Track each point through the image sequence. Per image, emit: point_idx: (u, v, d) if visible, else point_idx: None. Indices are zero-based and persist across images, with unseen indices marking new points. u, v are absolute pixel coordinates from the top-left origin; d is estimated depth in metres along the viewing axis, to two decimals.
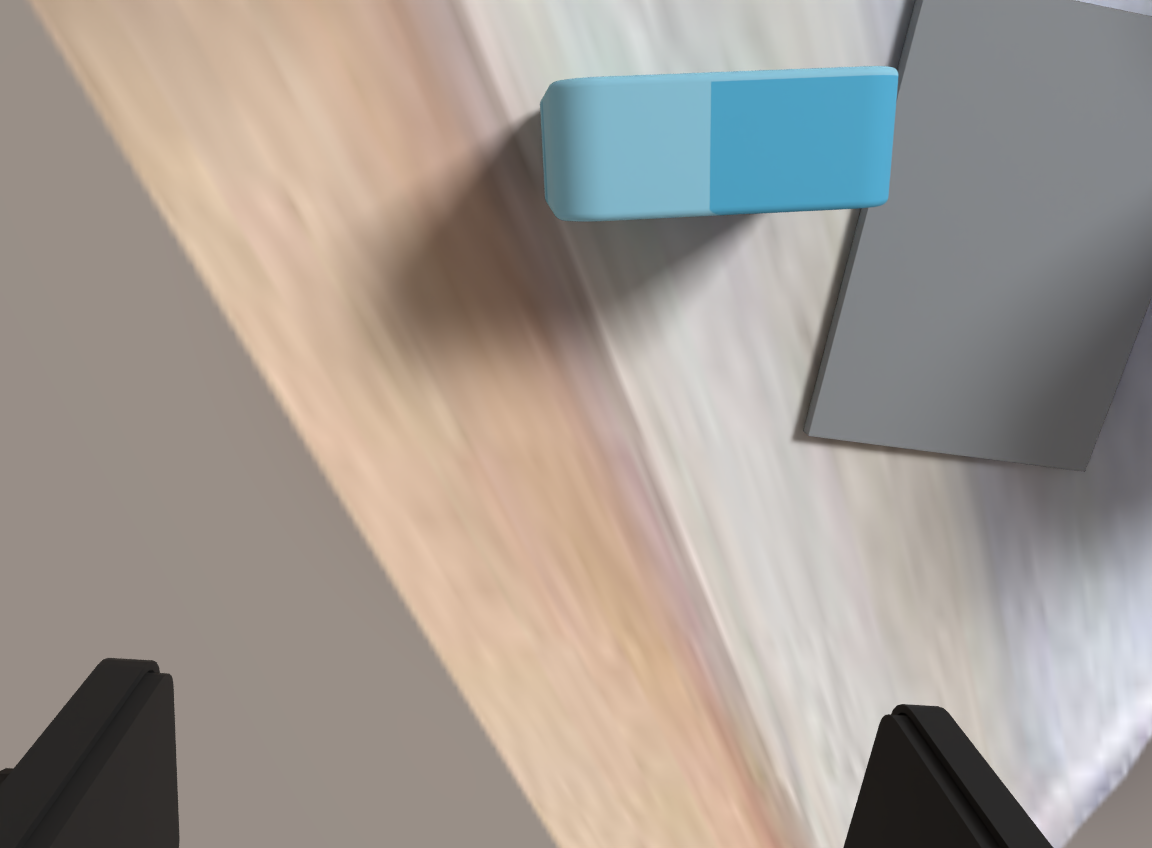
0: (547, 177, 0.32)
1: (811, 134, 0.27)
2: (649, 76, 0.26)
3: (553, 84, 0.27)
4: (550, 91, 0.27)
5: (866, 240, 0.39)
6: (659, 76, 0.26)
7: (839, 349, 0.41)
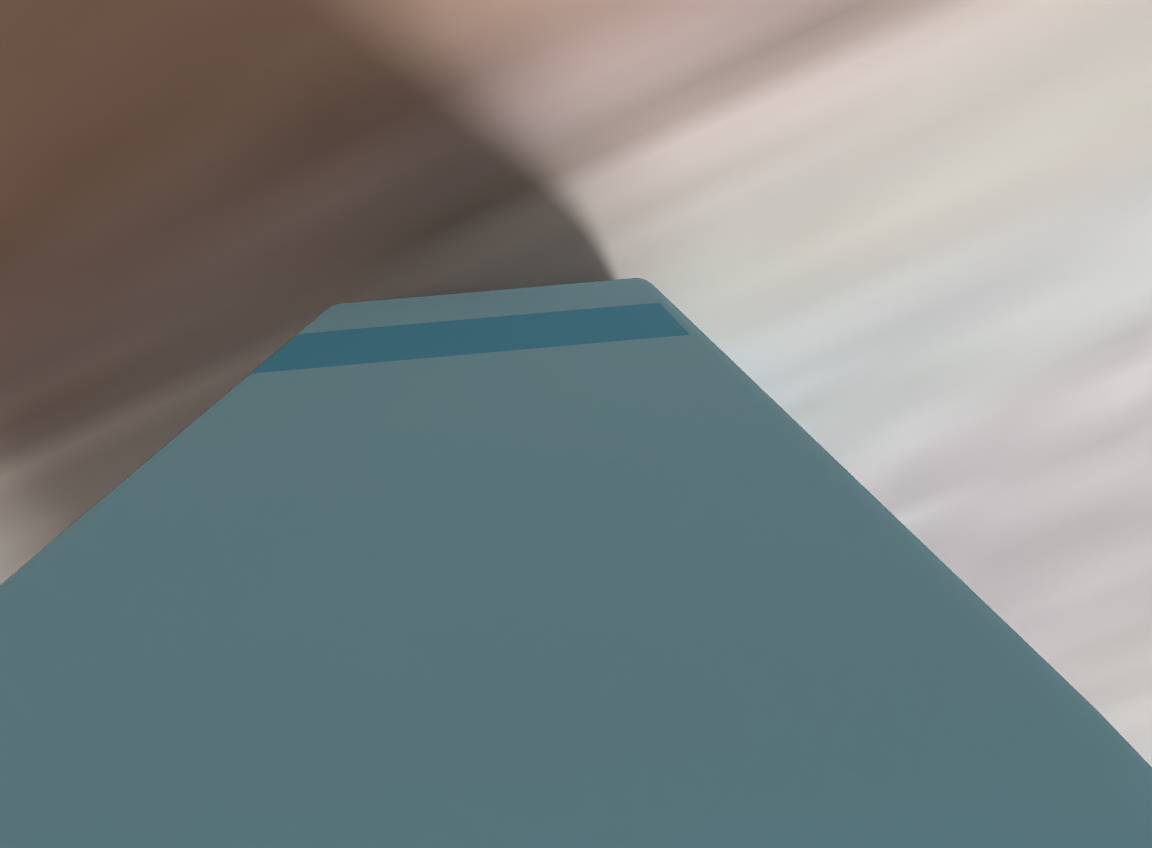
0: (354, 392, 0.06)
1: None
2: None
3: None
4: (1137, 832, 0.02)
5: None
6: None
7: None
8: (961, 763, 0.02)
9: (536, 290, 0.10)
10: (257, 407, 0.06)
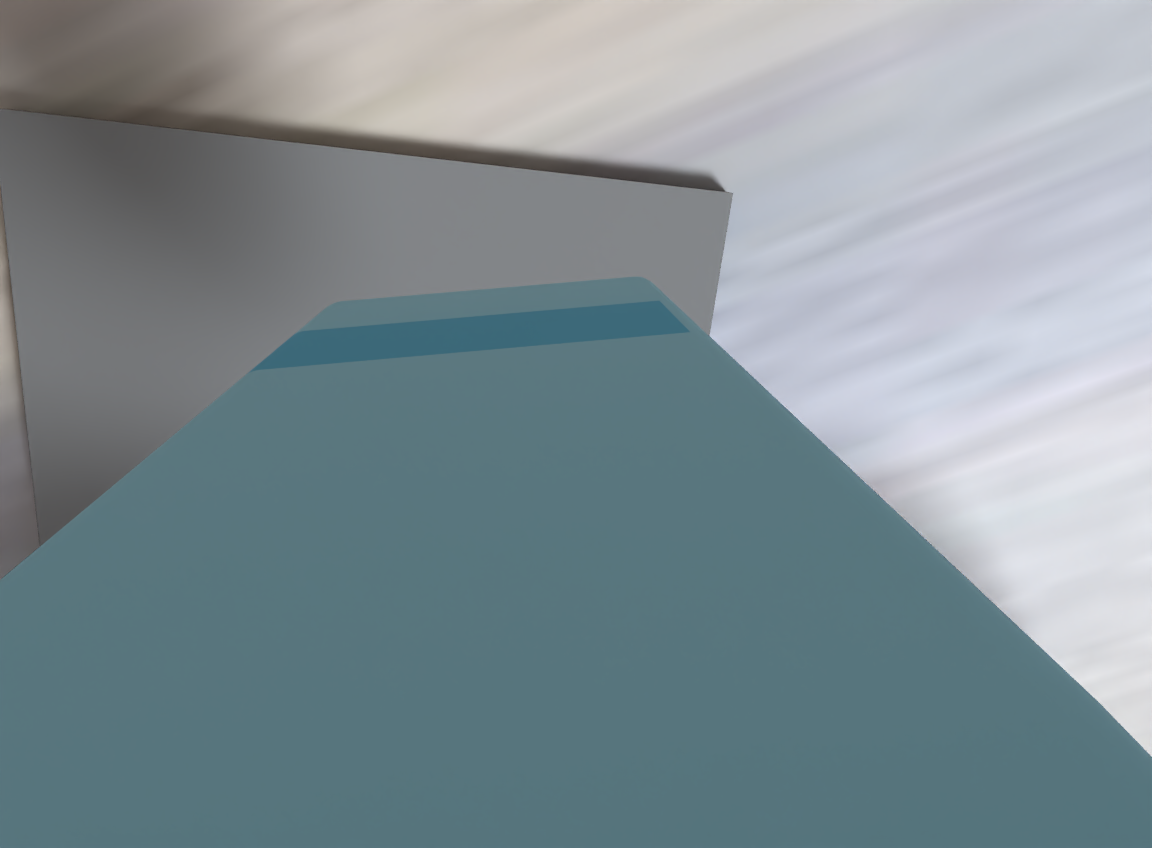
0: (353, 389, 0.06)
1: None
2: None
3: None
4: (1139, 823, 0.02)
5: (354, 160, 0.24)
6: None
7: (165, 143, 0.24)
8: (962, 754, 0.02)
9: (536, 288, 0.10)
10: (257, 404, 0.06)
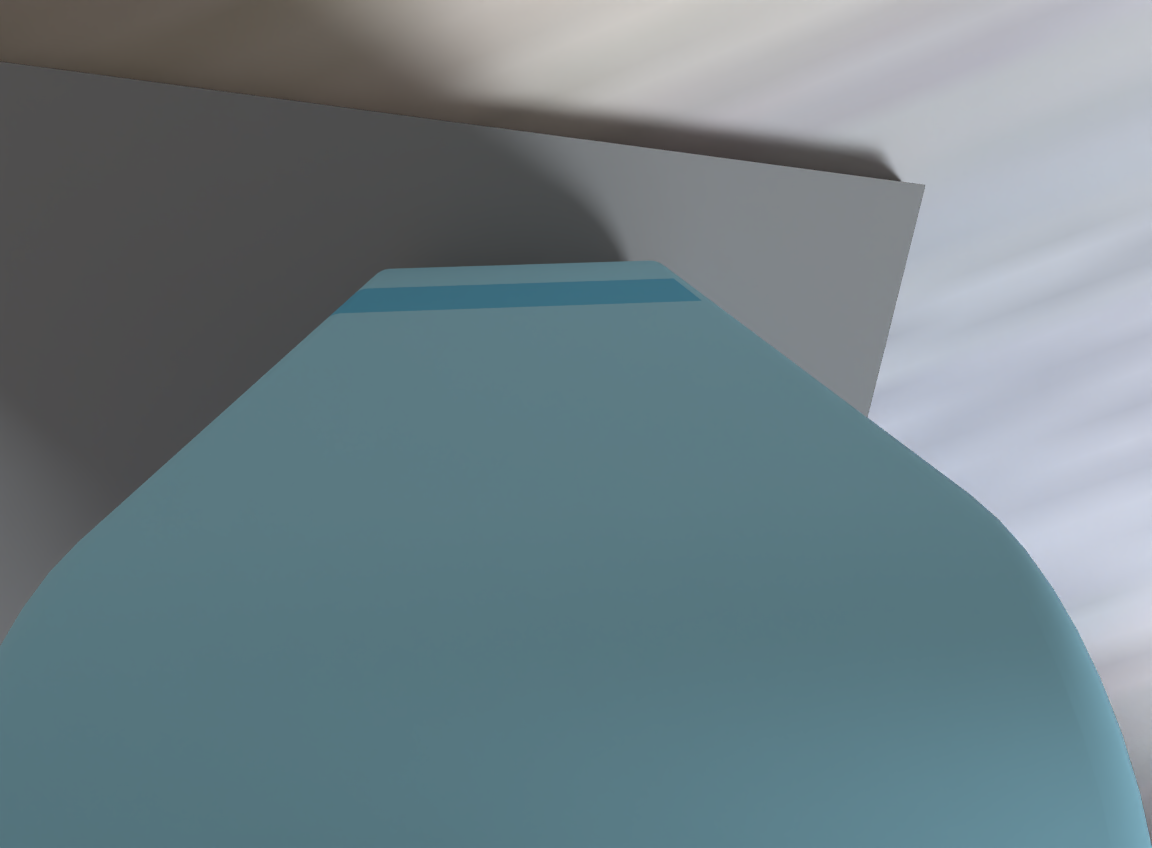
0: (428, 328, 0.08)
1: None
2: None
3: (1037, 571, 0.03)
4: (983, 541, 0.04)
5: (211, 111, 0.13)
6: None
7: None
8: (885, 511, 0.04)
9: (563, 266, 0.12)
10: (351, 335, 0.08)
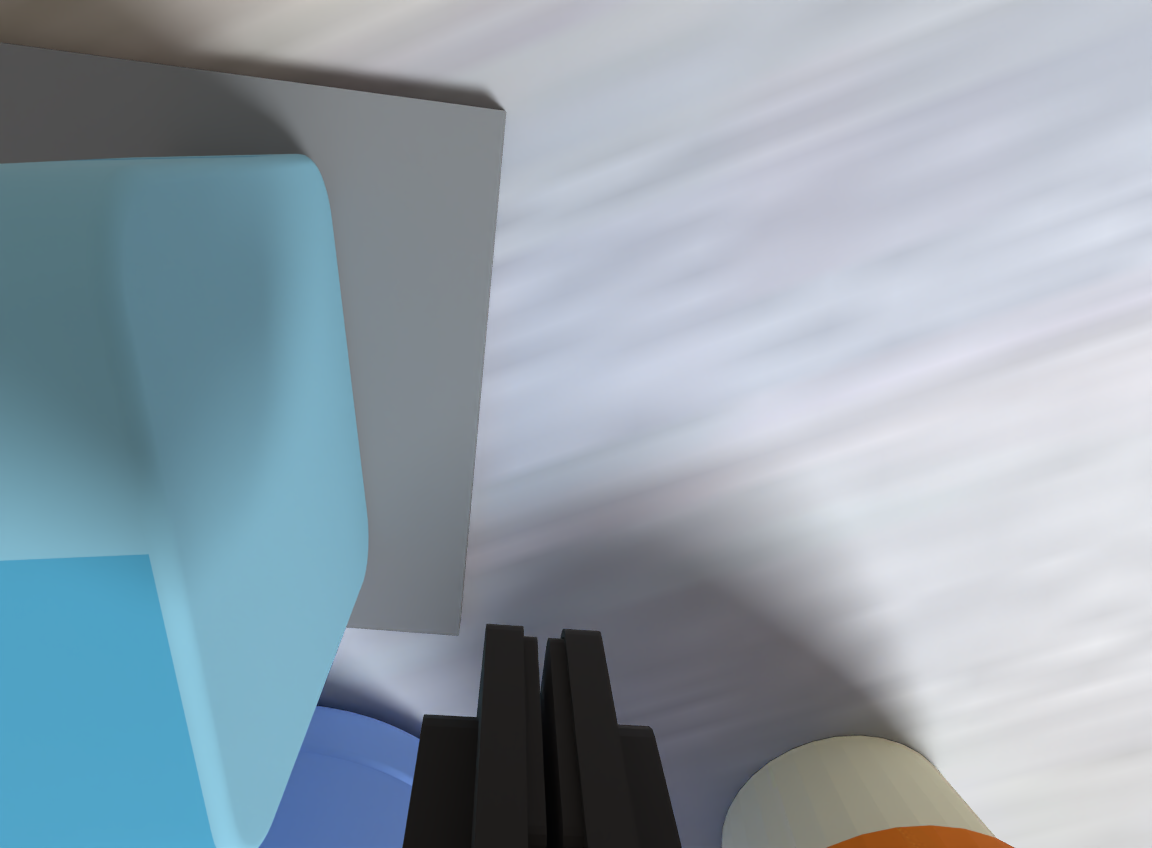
0: (77, 161, 0.15)
1: (75, 753, 0.12)
2: (140, 419, 0.11)
3: (125, 179, 0.11)
4: (111, 171, 0.11)
5: (28, 60, 0.20)
6: (143, 441, 0.11)
7: None
8: (93, 167, 0.11)
9: None
10: (32, 162, 0.15)
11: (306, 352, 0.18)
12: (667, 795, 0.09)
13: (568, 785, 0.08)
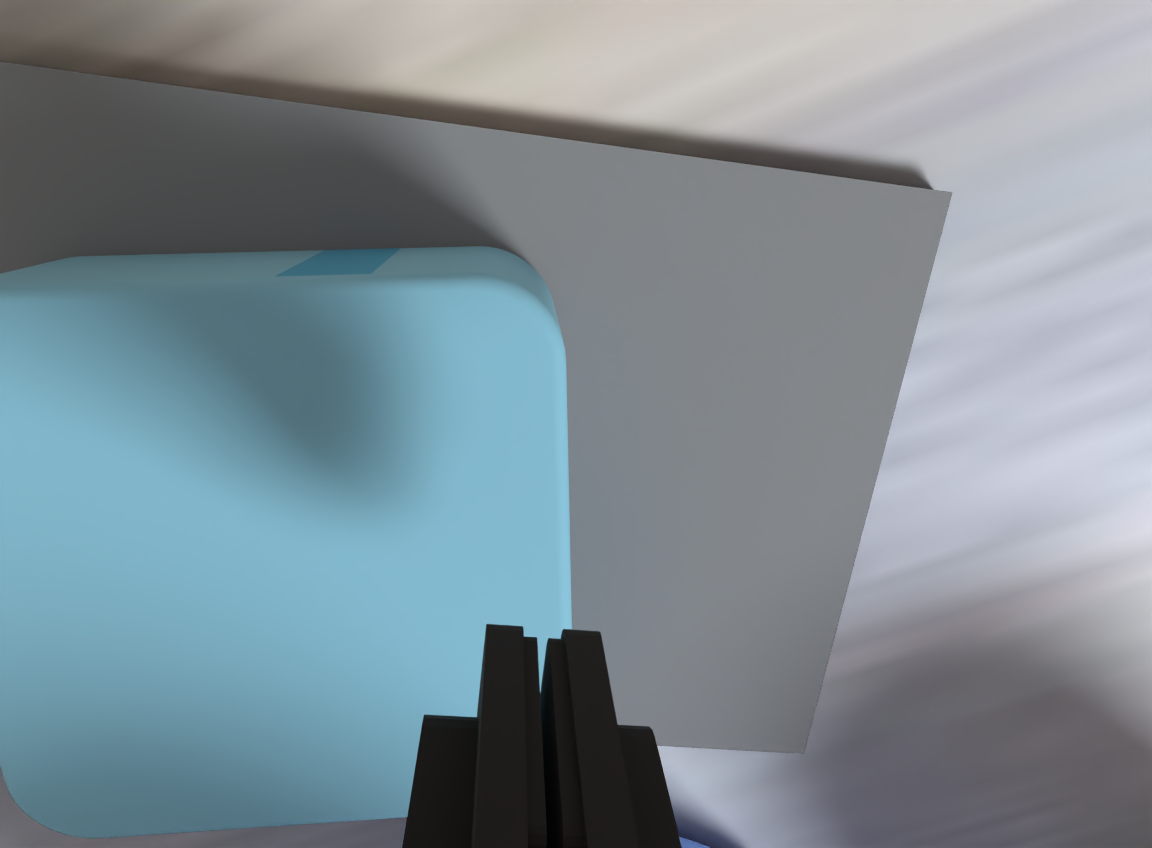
0: (266, 257, 0.17)
1: None
2: None
3: None
4: None
5: (440, 138, 0.17)
6: None
7: (177, 107, 0.17)
8: None
9: (463, 261, 0.15)
10: (268, 253, 0.17)
11: (348, 505, 0.15)
12: (667, 795, 0.09)
13: (568, 785, 0.08)
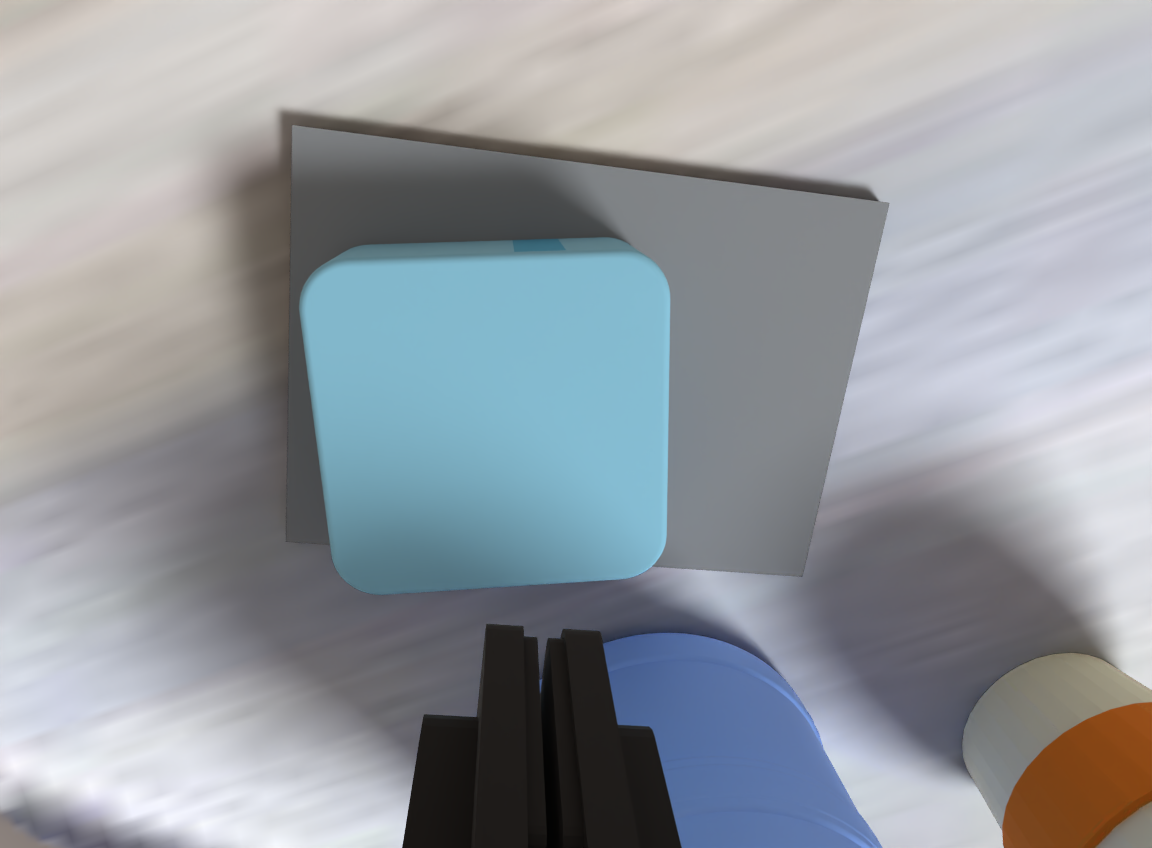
0: (485, 243, 0.28)
1: None
2: (307, 360, 0.26)
3: (329, 264, 0.25)
4: (333, 259, 0.25)
5: (583, 172, 0.29)
6: (308, 370, 0.26)
7: (430, 155, 0.28)
8: (343, 256, 0.26)
9: (608, 244, 0.27)
10: (481, 241, 0.29)
11: (546, 382, 0.27)
12: (667, 795, 0.09)
13: (568, 785, 0.08)
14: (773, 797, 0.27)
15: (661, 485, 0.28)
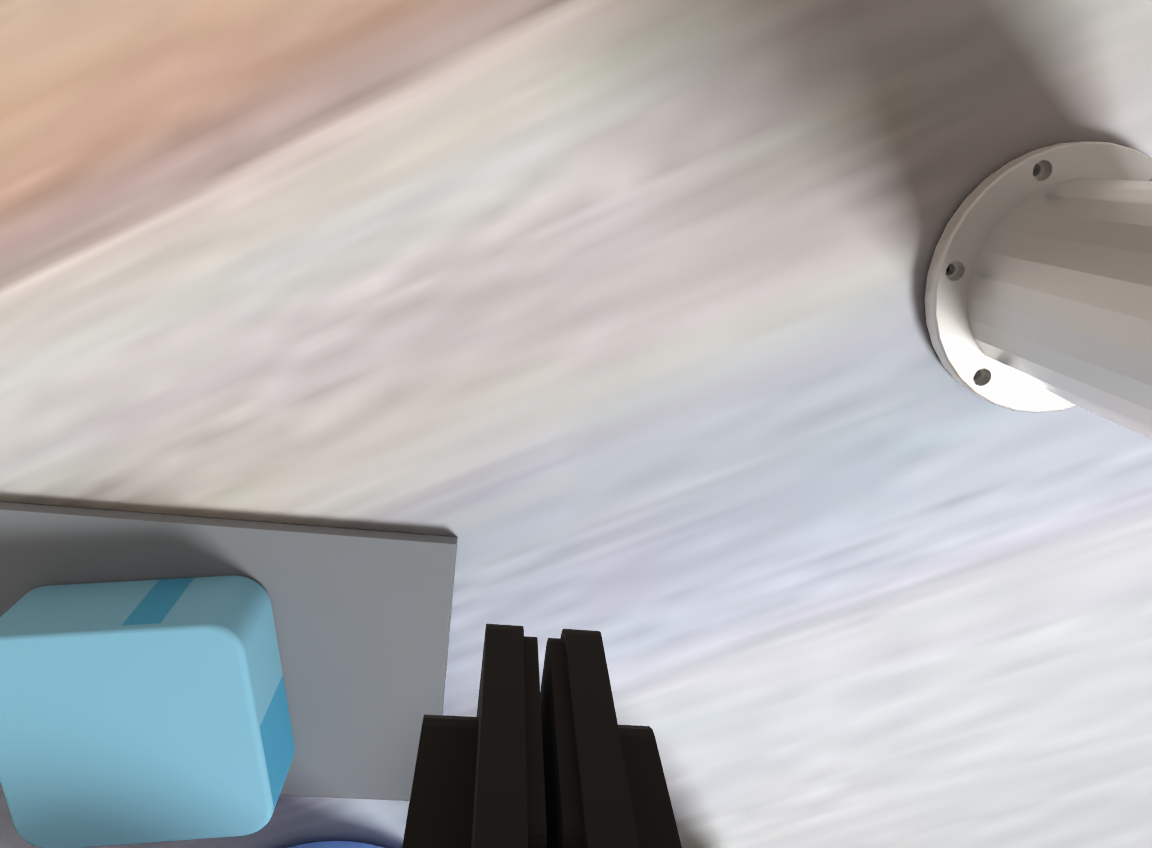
0: (128, 592, 0.38)
1: None
2: None
3: None
4: None
5: (209, 531, 0.39)
6: None
7: (89, 524, 0.38)
8: None
9: (207, 604, 0.37)
10: (131, 584, 0.38)
11: (157, 709, 0.36)
12: (667, 795, 0.09)
13: (568, 785, 0.08)
14: None
15: (259, 773, 0.38)
